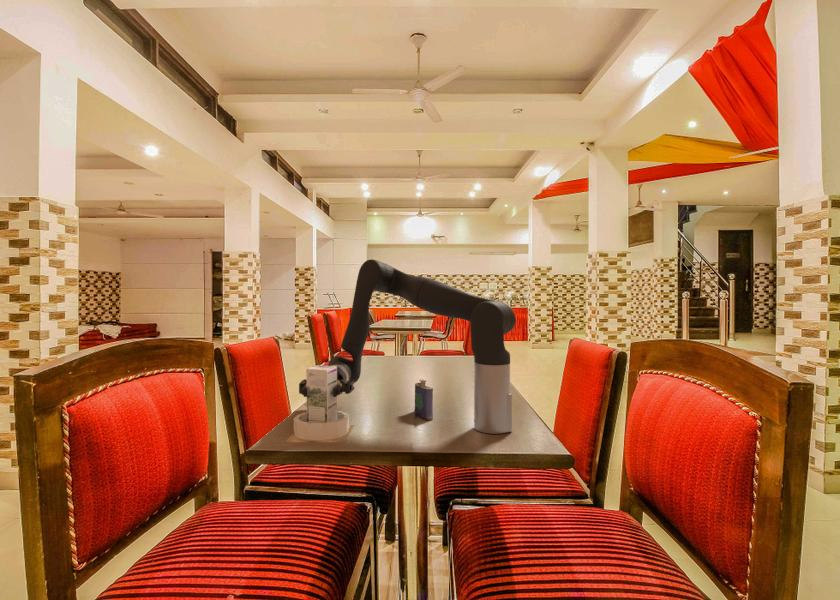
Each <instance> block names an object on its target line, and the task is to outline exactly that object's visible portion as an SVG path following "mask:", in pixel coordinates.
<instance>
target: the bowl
mask: <svg viewBox="0 0 840 600" xmlns="http://www.w3.org/2000/svg"><path fill="white" fill-rule="evenodd" d="M349 425H350V414H349V413H347V412H345V411H342V410H337V421H334V422H327V423H308V422H307V411H306V412H302V413H299V414H297V415H296V416H295V417H294V418H293V433H295V437H296V438H298V439H300V440H305V441H328V440H334V439H338V438H341V437H344V436H345V435H347V434H348V429H349Z"/></svg>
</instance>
